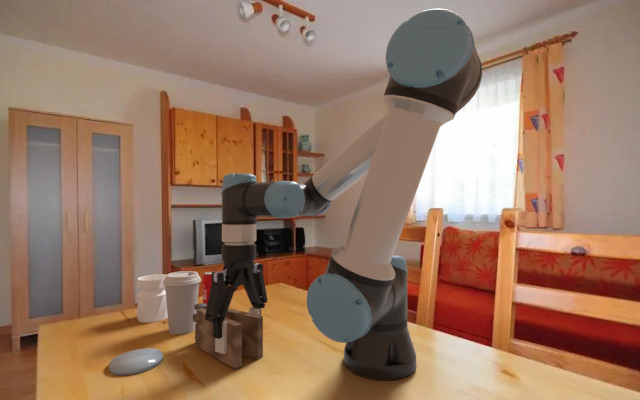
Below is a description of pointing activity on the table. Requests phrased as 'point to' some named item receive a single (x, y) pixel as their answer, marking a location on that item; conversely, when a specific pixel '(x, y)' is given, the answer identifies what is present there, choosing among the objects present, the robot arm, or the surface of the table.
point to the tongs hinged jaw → (208, 341)
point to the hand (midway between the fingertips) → (238, 343)
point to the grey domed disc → (135, 361)
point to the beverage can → (206, 286)
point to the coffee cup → (181, 300)
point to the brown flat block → (245, 330)
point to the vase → (151, 298)
